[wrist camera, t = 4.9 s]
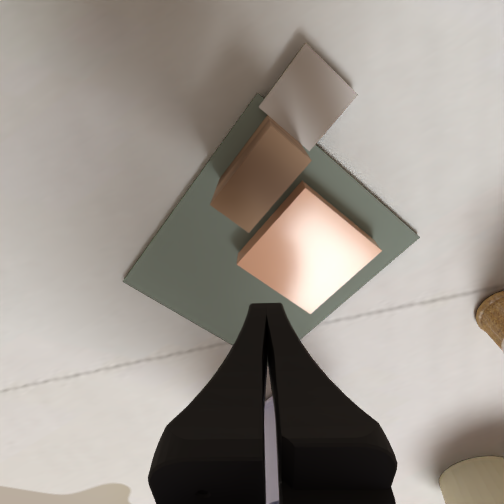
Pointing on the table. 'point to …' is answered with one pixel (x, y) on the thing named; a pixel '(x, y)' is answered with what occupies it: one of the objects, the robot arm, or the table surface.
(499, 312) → the sprinkles bottle
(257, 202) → the two-tone block stack
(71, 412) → the table surface
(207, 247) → the mat
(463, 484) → the reusable coffee cup
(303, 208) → the tile
